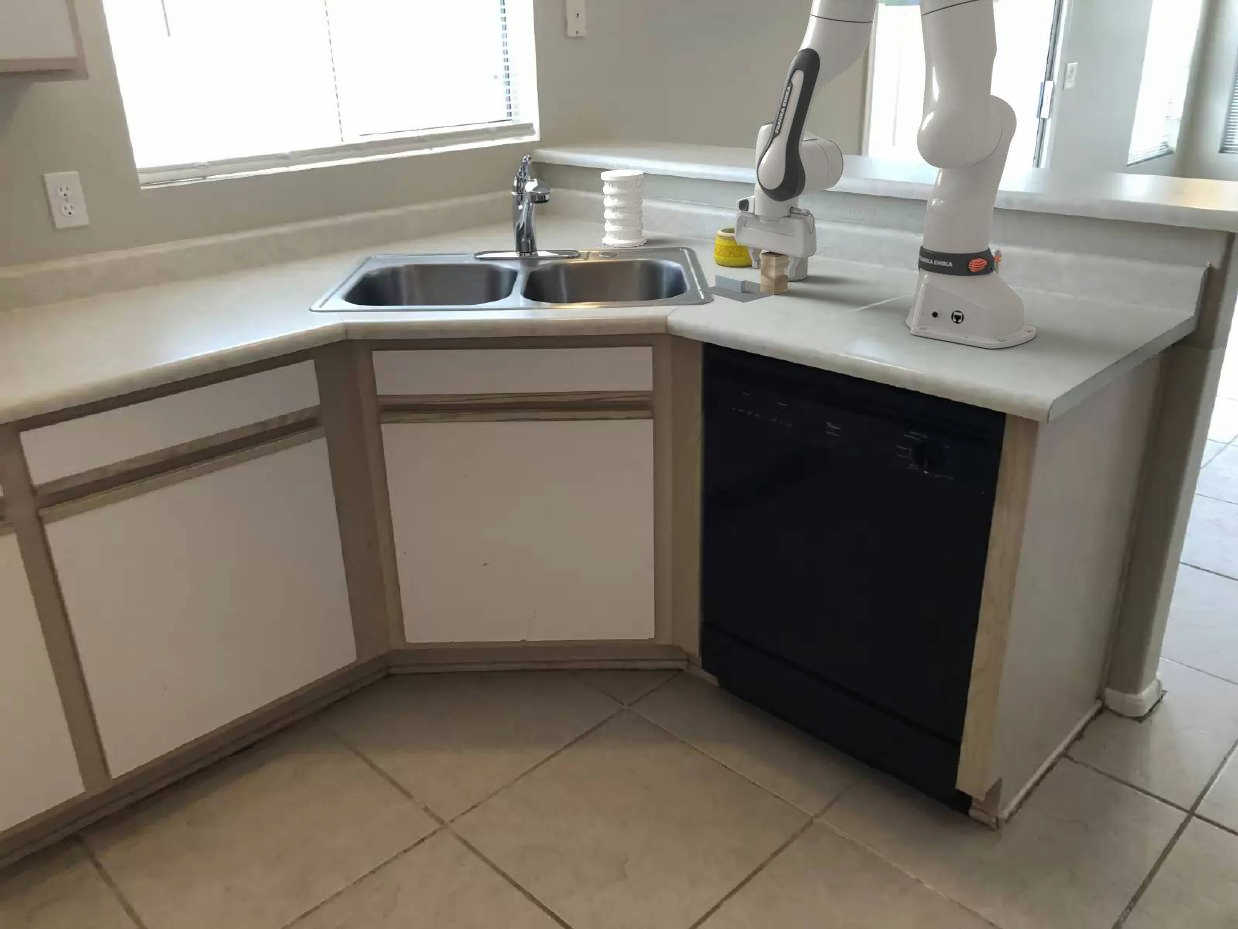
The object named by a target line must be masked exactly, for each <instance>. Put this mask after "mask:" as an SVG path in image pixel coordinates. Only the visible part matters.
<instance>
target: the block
mask: <svg viewBox="0 0 1238 929" xmlns="http://www.w3.org/2000/svg"><path fill="white" fill-rule="evenodd" d="M788 256H789V255H785V254H780V253H775V252H771V251H765V252H761V253H760V259H761V269H760V280H759V281H760V282H759V284H760V291H761V292H765V293H769V294H773V295H772V296H776V295H780V294H783V292H784V293H787V291H788V292H789V290H788V287H789V286H788V285H789V281H788V277H786V276H784V273H785V272H784V268H786V267H788V265H789V260H788ZM779 293H780V294H779ZM775 294H776V295H775Z"/></svg>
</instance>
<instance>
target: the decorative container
mask: <svg viewBox="0 0 1238 929" xmlns="http://www.w3.org/2000/svg"><path fill="white" fill-rule="evenodd" d="M600 176H601V177H600V179H601V180H603V181H604V182H603V183H604V186H603V188H602V192H603V193H604V199H603V205H604V208H605V211H604V213H603V215H604V219H605V225H604V230H605V233H606V235H605V237H603V238H602V244H603V243H606V244H609V245H614V246H636V245H641V244H644V243H646V244H647V237H646V236H645V235H643V229H644V223H643V220H642V219H643V216H644V213H643V212H644V211H643V209H642V205H643V201H644V200H643V198H642V192H643V185H642V181H641V180H642V179H644V171H642V170H637V169H618V170H617V169H615V170H608V171H603V172H601V174H600ZM644 245H645V244H644Z"/></svg>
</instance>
